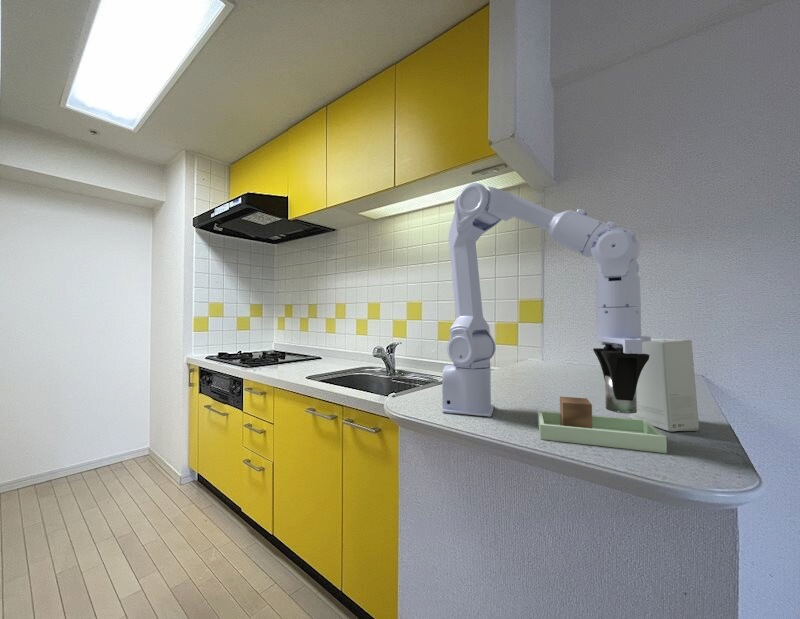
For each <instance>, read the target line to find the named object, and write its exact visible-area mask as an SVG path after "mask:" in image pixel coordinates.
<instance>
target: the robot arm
mask: <svg viewBox="0 0 800 619" xmlns="http://www.w3.org/2000/svg"><path fill="white" fill-rule="evenodd" d="M453 206H454V213H453V217H452V221H451V224H450V228H449V231H448V245H449V246H448V247H449V255H450V257H449V258H450V267H451V277H452V279H451V280H452V289H453V298H454V309H455V311H454V312H455V321H454V322H453V323H452V325H451V326H450V328H449V340H448V342H447V347H446V348H447V349H446V350H447V355H448V358H449V359H450V361H451V362H452V365H451V364H449V365H448V364H447V365H445V366H444V367H443V370H442V379H441V381H442V382H441V383H442V387H441V390H442V393H441V394H442V399H441V400H442V401H441V402H442V404H441V405H442V409H441V412H442V413H448V414H449V413H450V414H458V415H469V416H479V417H492V416H493V412H494V409H495V404H494V403H492V397H491V396H492V394H491V393H492V392H491V391H492V390H491V388H492V387H491V386H492V385H491V383H492V382H491V380H492V378H491V377H492V376H491V371H492V370H491V359H492V358H493V357H494V355H495V352H496V342H495V339H494V337H493V336H492V334H491V331H490V326H489V324H488V322H487V321H486V320H485V317H484V313H483V312H484V311H483V304H482V302H483V301H482V295H481V294H482V293H481V285H480V284H481V282H480V274H479V265H478V264H479V263H478V255H477V241H478V240H479V239H480V238H481V237H482V236H483V235H484V234H486V232H488V231H490V230H491V229H492V228H494V227H495V226H497V225H498V224H499V223H500V222H502V221H504V222H507V221H509V220H512V219H514V218H515V219H518V220H521V221H523V222H525V223H528V224H531V225H533V226H535V227H537V228H540V229H543V230H546V231H548V233H549V236H550V240H551V241H552V242H553V243H554V244H557V245H559V246H561V247H563V248H566V249H568V250H570V251H571V252H574V253H577V254H579V255H581V256H584V257H585V258H590V257H593V259H594V260H595V261H596V262H597V263H596V279H595V292H596V293H595V296H596V300H595V301H596V302H595V304H596V313H595V314H596V335H595V341H596V342H599V343H600V345H601V346H603V348H601V347H599V348H596V347H594V348H593V349H592V351H593V353H594V354H595V355H596V358H597V360H598V361H599V365H600V368H601V371H602V374H603V380H604V381H605V375H610V376H611V381H612V387H613V392H614V396H615V398H616V399H617V400H629V401H633V398H634V395H635V392H636V387H637V383H638V379H639V376H640V374H641V371H642V369H643V367H644V366H645V364H646V363H647V361H648V360H649V355H648V354H642V342H644V341H651V339H652V337H651V336H647V335H646V336H645V335H642V317H641V314H642V313H641V311H642V309H641V306H642V305H641V277H640V276H639V272H640V265H639V261H638V259H639V256H640V254H641V244H640V242H639V240H638V238H637V236H636V235H635V234H634V232H632V231H631V230H629V229H627V228H624V227H616V226H617V225H616V223H615V222H613V221H610V220H609V221H607V223H606V222H603V221H601V220H598V219H596V218H593V217H590V216H587V215H588V212H587V211H586V210H584V209H582V208H577V210H576V211H574V210H573V209H568V210H567V209H566V210H565V211H562V212H557V213H556V212H555V211H553V210H550V209H547V208H546V207H543V206H541V205H539V204H537V203H535V202H531V201H530V200H528V199H525V198H523V197H520V196H519V195H517V194H514V193H511V192H509V191H505V190H503V189H500V188H497V187H493V186H487V188H486V187H485V186H484V185H483V184H481V183H477V182H473V183H470V184H468V185H467V186H465V187H464V188H463V189H462V190H461V192H460V193H459V194H458V195H457V196H456V198H455V199H454V201H453Z"/></svg>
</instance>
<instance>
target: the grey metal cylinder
mask: <svg viewBox="0 0 800 619" xmlns="http://www.w3.org/2000/svg"><path fill="white" fill-rule="evenodd" d="M604 389H605V392H604V393H605V396H604V397H605V400H604V401H605V409H606V410H607V411H610V412H614V413H618V414H626V415H627V414H629V415H630V414H633V413H637V391H636V392H635V395H634V398H633V401H629V400H617V399H616V398H615V396H614V392H613V387H612V381H611V376H610V375H605V380H604Z"/></svg>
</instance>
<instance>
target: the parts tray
mask: <svg viewBox="0 0 800 619" xmlns="http://www.w3.org/2000/svg"><path fill="white" fill-rule="evenodd" d="M537 426H538V431H539V432H538V433H539V437H540V440H544V441H554V442H562V443H563V442H564V443H573V444H582V445H588V446H589V445H590V446H599V447H601V446H602V447H608V448H616V449H617V448H618V449H625V450H626V449H627V450H634V451H635V450H636V451H643V452H654V453H662V454H667V453H668V452H667V449H668V448H667V447H668V446H667V444H668V443H667V436H666V435H665V434H664V433H662V432H661V431H660V430H659V429H657V427H655V426H653V425H651V424H650V423H649V422H648V421H647V420H642V419H631V418H630V417H629V418H627V417H617V416H605V415H593V414H592V429H591V428H581V427H570V426H560V411H557V412H556V411H547V410H537Z"/></svg>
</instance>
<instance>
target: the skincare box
mask: <svg viewBox="0 0 800 619" xmlns="http://www.w3.org/2000/svg"><path fill="white" fill-rule="evenodd" d="M692 342H693V341H692V339H682V338H681V339H676V338H674V339H673V338H651V341H644V342H642V354H648V355H649V360H648V361H647V363H646V364H645V366H644V367H643V369H642V371H641V374H640V376H639V379H638V383H637V387H636V391H637V413H633V414H629V418H630V419H642V420H647V421H648V422H649V423H650V424H651V425H653V426H654V427H655V428H658V429H661V430H664V431H667V432H677V431H678V432H679V431H680V432H689V431H690V432H691V431H699V428H700V423H699V410H698V399H697V386H696V377H695V376H696V375H695V365H694V352H693V343H692Z"/></svg>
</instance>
